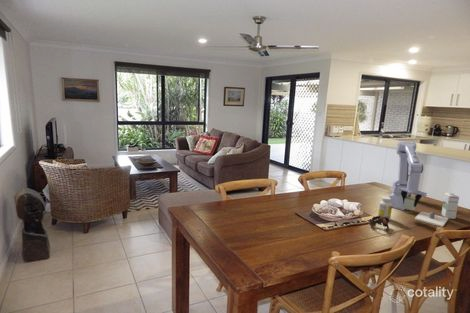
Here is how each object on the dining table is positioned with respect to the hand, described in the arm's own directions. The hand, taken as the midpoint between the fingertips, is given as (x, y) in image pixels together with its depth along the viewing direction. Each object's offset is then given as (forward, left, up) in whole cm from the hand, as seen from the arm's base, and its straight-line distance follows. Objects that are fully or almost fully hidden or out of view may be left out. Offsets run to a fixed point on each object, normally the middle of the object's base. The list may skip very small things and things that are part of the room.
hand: (409, 205), depth 169 cm
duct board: (+10, +11, -9) cm, 17 cm away
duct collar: (0, 0, -2) cm, 2 cm away
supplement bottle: (-10, -10, -9) cm, 17 cm away
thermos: (-14, +44, -9) cm, 47 cm away
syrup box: (+16, +25, -9) cm, 31 cm away
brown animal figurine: (-6, -27, -9) cm, 29 cm away
